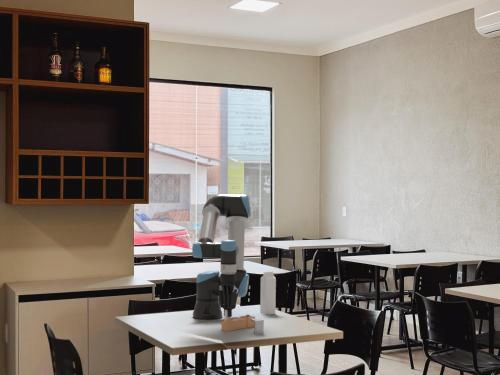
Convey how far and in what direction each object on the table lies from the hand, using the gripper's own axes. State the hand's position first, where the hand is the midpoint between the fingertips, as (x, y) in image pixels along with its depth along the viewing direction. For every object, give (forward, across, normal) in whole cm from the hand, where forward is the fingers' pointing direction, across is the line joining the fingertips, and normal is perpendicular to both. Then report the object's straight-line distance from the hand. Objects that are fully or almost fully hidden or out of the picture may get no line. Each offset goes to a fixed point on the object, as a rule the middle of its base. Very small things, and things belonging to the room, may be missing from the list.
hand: (227, 323), depth 326 cm
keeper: (+2, +18, +1) cm, 18 cm away
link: (+2, +5, +2) cm, 6 cm away
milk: (+3, -15, +46) cm, 48 cm away
